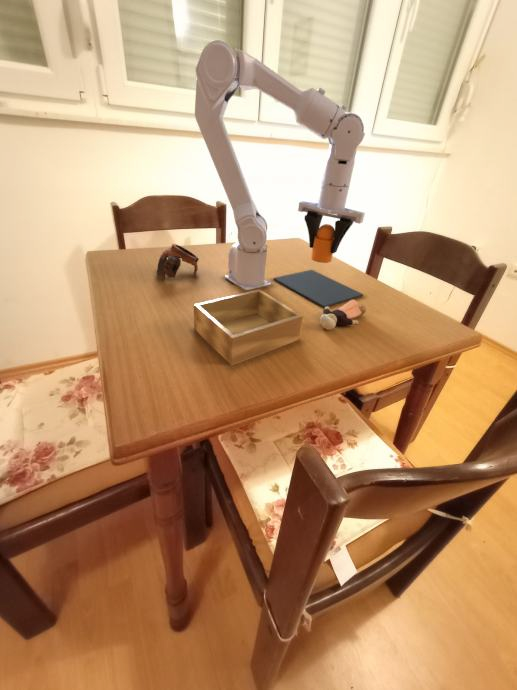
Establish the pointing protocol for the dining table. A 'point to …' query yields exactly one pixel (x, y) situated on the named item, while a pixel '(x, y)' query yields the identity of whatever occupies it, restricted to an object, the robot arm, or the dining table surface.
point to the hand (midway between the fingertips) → (322, 249)
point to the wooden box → (246, 324)
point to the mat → (318, 288)
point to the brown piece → (175, 261)
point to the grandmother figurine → (342, 315)
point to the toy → (323, 244)
